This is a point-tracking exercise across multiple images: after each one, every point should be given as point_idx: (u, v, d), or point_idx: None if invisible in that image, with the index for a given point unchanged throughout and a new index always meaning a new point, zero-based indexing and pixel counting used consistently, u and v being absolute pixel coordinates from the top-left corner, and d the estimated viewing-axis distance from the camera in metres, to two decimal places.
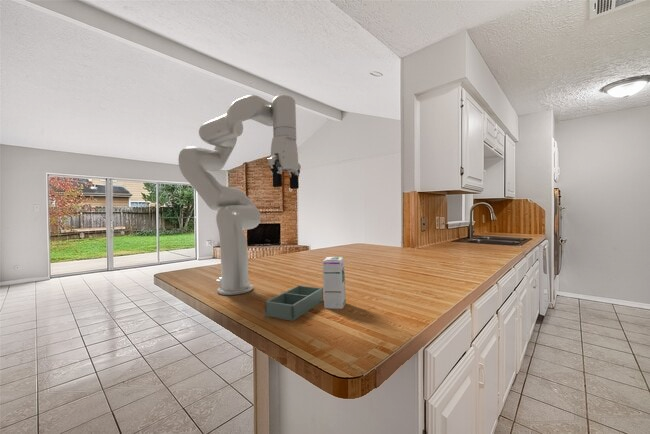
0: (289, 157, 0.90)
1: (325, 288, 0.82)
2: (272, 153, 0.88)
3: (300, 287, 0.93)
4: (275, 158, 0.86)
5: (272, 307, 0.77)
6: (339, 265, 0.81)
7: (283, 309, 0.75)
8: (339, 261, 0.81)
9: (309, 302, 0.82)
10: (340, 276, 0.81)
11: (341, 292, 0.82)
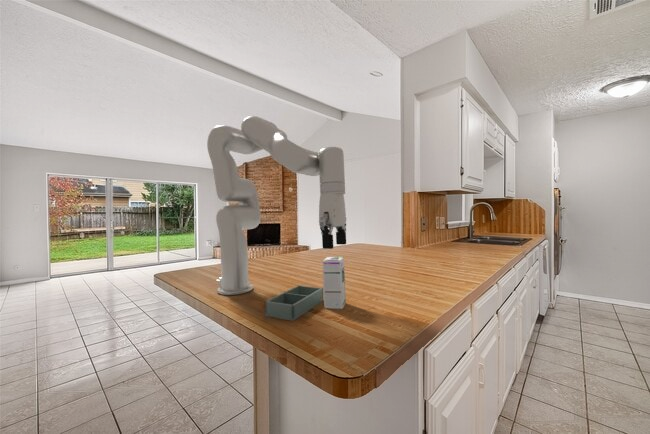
0: (338, 214, 0.81)
1: (325, 288, 0.82)
2: (321, 211, 0.80)
3: (300, 287, 0.93)
4: (326, 218, 0.78)
5: (272, 307, 0.77)
6: (339, 265, 0.81)
7: (283, 309, 0.75)
8: (339, 261, 0.81)
9: (309, 302, 0.82)
10: (340, 276, 0.81)
11: (341, 292, 0.82)
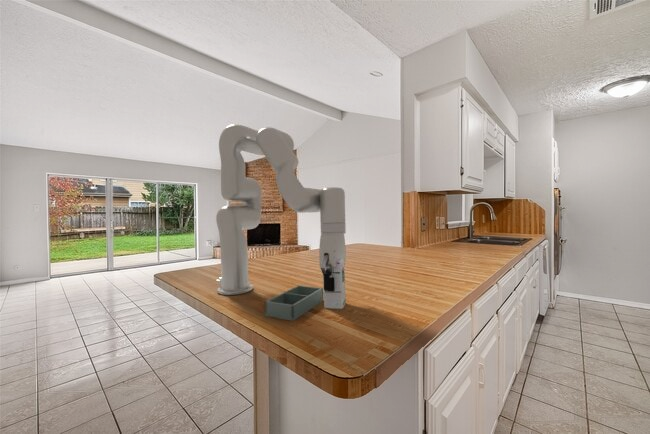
0: (338, 255, 0.82)
1: None
2: (321, 252, 0.81)
3: (300, 287, 0.93)
4: (327, 262, 0.79)
5: (272, 307, 0.77)
6: (339, 265, 0.81)
7: (283, 309, 0.75)
8: (339, 261, 0.81)
9: (309, 302, 0.82)
10: (340, 276, 0.81)
11: (341, 292, 0.82)
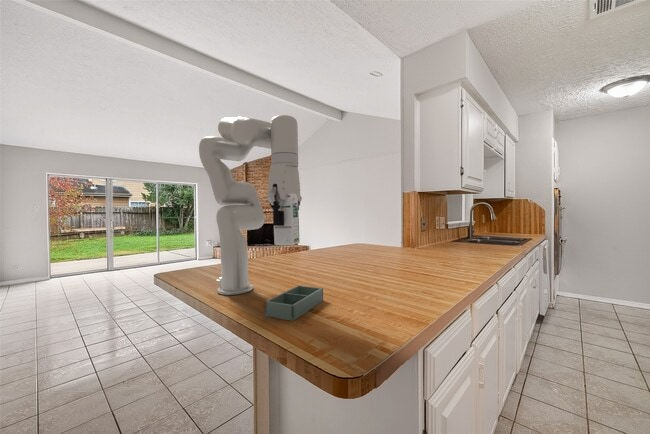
0: (289, 188, 0.77)
1: None
2: (270, 183, 0.75)
3: (300, 287, 0.93)
4: (275, 193, 0.74)
5: (272, 307, 0.77)
6: (290, 198, 0.76)
7: (283, 309, 0.75)
8: (290, 194, 0.76)
9: (309, 302, 0.82)
10: (291, 210, 0.76)
11: (292, 227, 0.76)
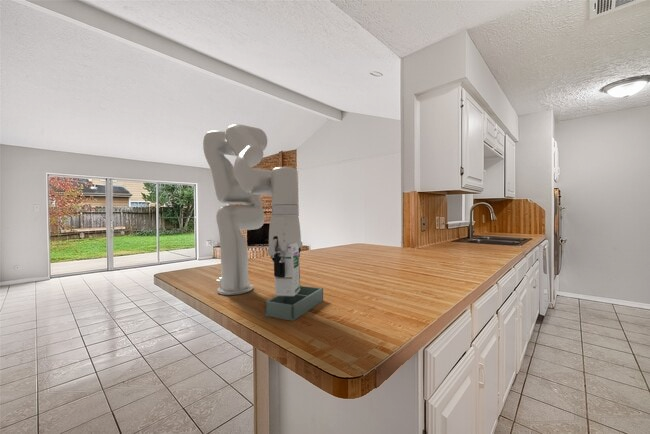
0: (290, 239, 0.77)
1: None
2: (271, 235, 0.76)
3: (300, 287, 0.93)
4: (275, 246, 0.74)
5: (272, 307, 0.77)
6: (290, 249, 0.76)
7: (283, 309, 0.75)
8: (290, 245, 0.76)
9: (309, 302, 0.82)
10: (291, 261, 0.76)
11: (292, 278, 0.77)
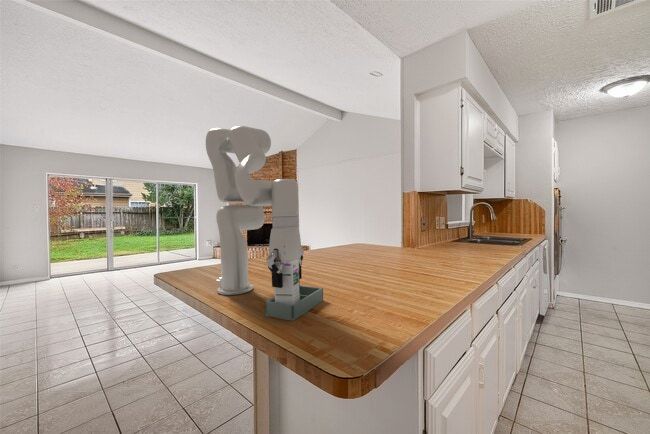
0: (290, 250, 0.77)
1: (276, 291, 0.78)
2: (271, 247, 0.76)
3: (300, 287, 0.93)
4: (274, 256, 0.74)
5: (272, 307, 0.77)
6: (290, 267, 0.76)
7: (283, 309, 0.75)
8: (290, 262, 0.77)
9: (309, 302, 0.82)
10: (291, 278, 0.77)
11: (292, 295, 0.77)
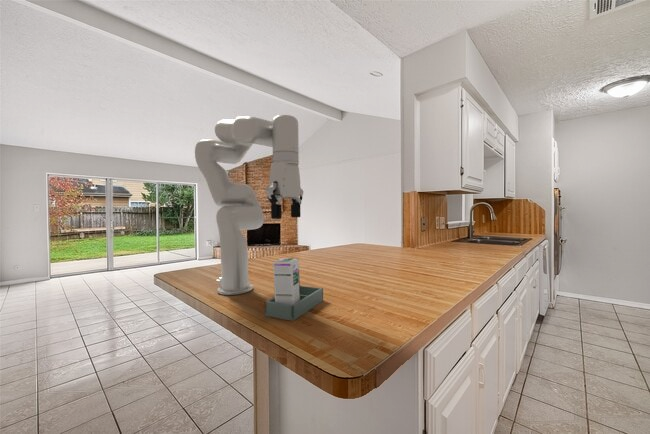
0: (289, 185, 0.80)
1: (276, 291, 0.78)
2: (271, 180, 0.79)
3: (300, 287, 0.93)
4: (274, 187, 0.76)
5: (272, 307, 0.77)
6: (290, 267, 0.76)
7: (283, 309, 0.75)
8: (290, 262, 0.76)
9: (309, 302, 0.82)
10: (291, 278, 0.77)
11: (292, 295, 0.77)
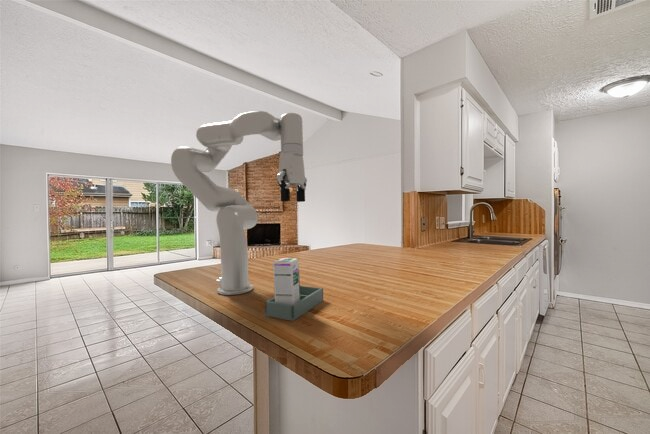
0: (296, 172, 0.93)
1: (276, 291, 0.78)
2: (280, 169, 0.92)
3: (300, 287, 0.93)
4: (283, 174, 0.90)
5: (272, 307, 0.77)
6: (290, 267, 0.76)
7: (283, 309, 0.75)
8: (290, 262, 0.76)
9: (309, 302, 0.82)
10: (291, 278, 0.77)
11: (292, 295, 0.77)
